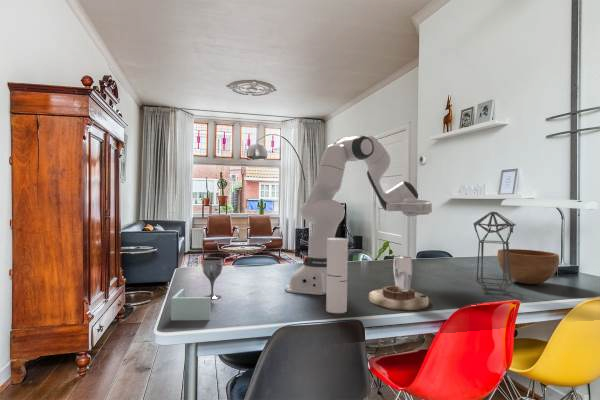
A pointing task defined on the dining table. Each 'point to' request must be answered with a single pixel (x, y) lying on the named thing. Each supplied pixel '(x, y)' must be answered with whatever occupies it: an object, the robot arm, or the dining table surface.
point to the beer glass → (402, 273)
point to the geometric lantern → (503, 251)
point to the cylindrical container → (336, 275)
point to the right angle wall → (190, 307)
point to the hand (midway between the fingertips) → (406, 207)
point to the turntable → (398, 299)
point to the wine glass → (212, 272)
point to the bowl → (530, 265)
